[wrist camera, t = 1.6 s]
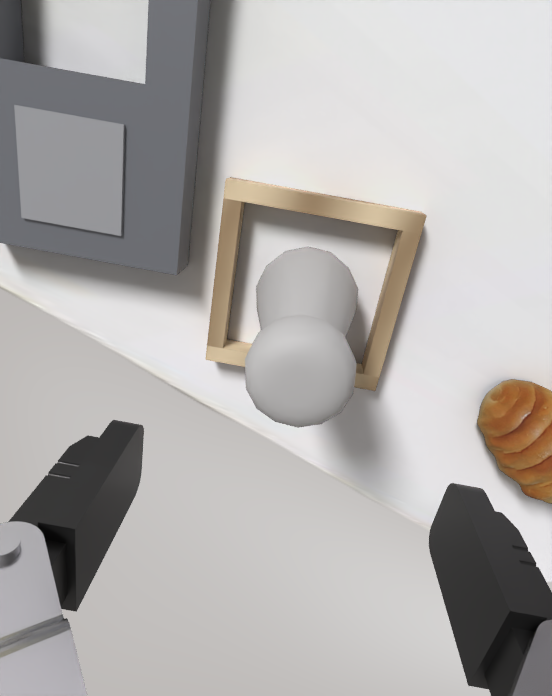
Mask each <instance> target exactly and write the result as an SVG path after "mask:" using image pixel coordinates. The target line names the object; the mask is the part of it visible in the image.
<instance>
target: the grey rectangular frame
mask: <svg viewBox="0 0 552 696" xmlns="http://www.w3.org/2000/svg"><path fill="white" fill-rule="evenodd" d="M210 2H211V0H149V7H148V32H147V57H146V81H145V84H140V83H135V82H129V81H124V80H118V79H113V78H107V77H101V76H96V75H90V74H85V73H79V72H74V71H68V70H63V69H57V68H52V67H46V66H40V65H35V64H29V63H24V48H23V30H22V12H21V0H0V243H4V244H9V245H15V246H20V247H26V248H31V249H37V250H42V251H47V252H53V253H58V254H64V255H69V256H75V257H80V258H86V259H91V260H97V261H102V262H107V263H113V264H118V265H124V266H129V267H135V268H140V269H146V270H151V271H157V272H162V273H167V274H173V275H177V274H179V273H180V272H181V271H182V270H183V269H184V268H185V267H186V266H187V265H188V258H189V247H190V235H191V223H192V212H193V200H194V189H195V177H196V165H197V154H198V142H199V130H200V119H201V107H202V96H203V84H204V72H205V61H206V49H207V37H208V26H209V14H210Z"/></svg>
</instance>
